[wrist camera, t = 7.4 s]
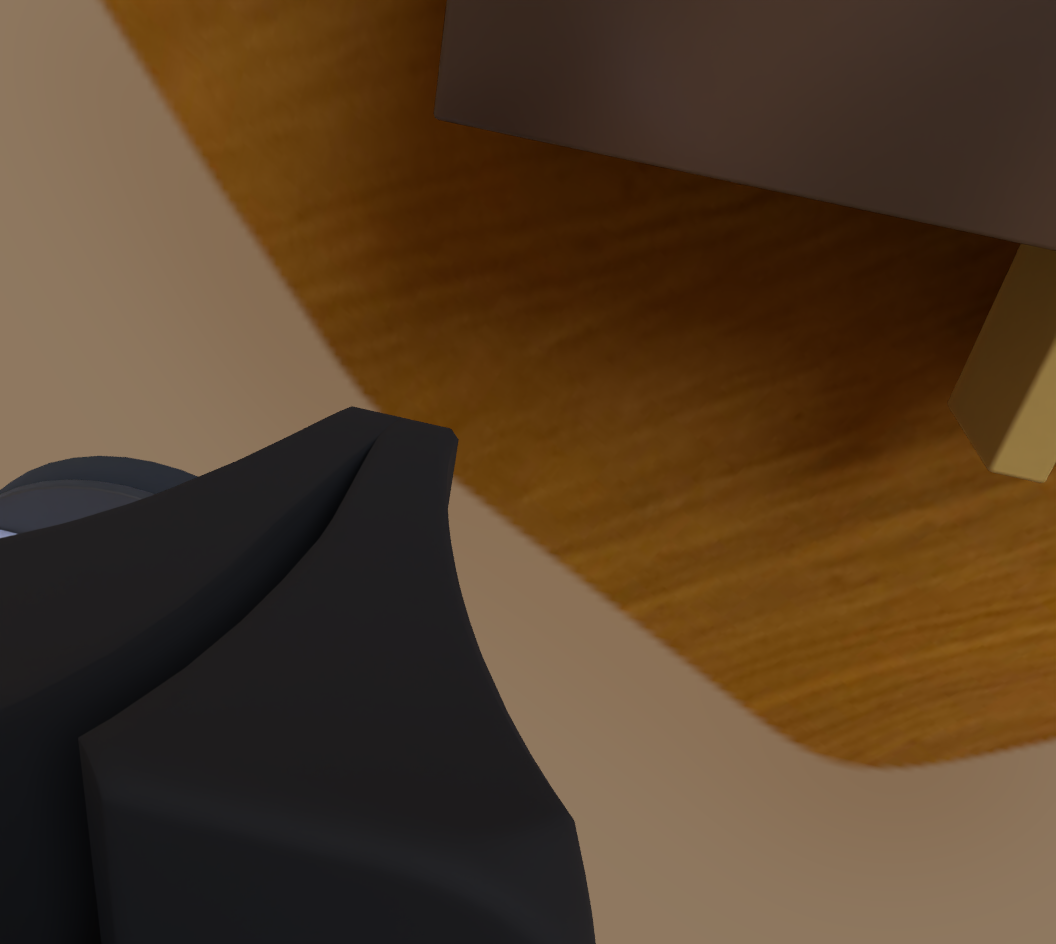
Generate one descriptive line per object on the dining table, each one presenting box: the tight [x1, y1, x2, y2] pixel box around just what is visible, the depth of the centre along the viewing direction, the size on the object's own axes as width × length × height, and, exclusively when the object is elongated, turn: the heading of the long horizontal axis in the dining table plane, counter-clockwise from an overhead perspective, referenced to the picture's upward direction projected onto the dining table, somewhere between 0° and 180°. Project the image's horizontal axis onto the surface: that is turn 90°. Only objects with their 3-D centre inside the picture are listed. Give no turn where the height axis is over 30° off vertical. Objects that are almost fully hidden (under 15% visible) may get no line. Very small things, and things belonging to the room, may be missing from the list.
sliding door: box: [948, 244, 1056, 483], centre depth 16 cm, size 7×5×4 cm
